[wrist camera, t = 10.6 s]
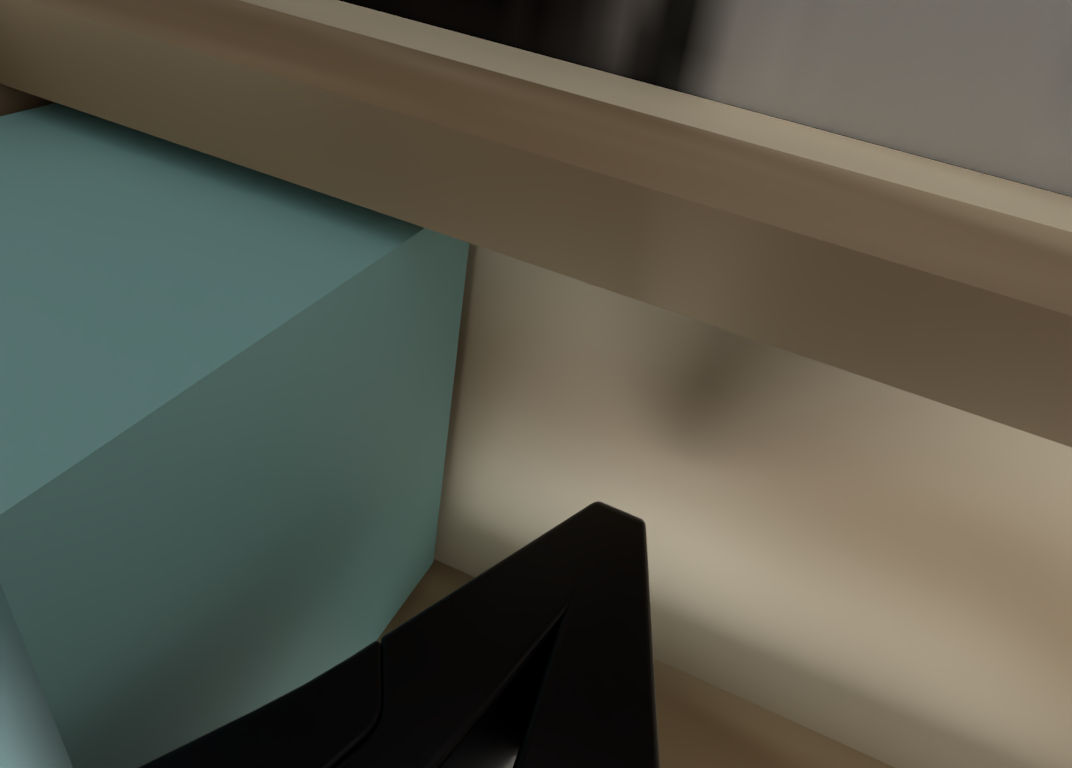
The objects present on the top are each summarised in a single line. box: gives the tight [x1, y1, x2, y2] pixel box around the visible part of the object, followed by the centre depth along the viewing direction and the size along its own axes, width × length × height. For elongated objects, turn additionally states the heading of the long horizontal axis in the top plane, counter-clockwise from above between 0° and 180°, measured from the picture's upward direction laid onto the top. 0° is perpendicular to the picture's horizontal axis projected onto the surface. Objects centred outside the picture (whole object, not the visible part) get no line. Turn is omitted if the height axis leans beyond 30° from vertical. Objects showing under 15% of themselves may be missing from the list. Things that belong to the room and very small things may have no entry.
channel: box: [0, 0, 1072, 768], centre depth 9 cm, size 9×28×5 cm, turn 80°
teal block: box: [0, 103, 469, 768], centre depth 9 cm, size 6×5×6 cm
